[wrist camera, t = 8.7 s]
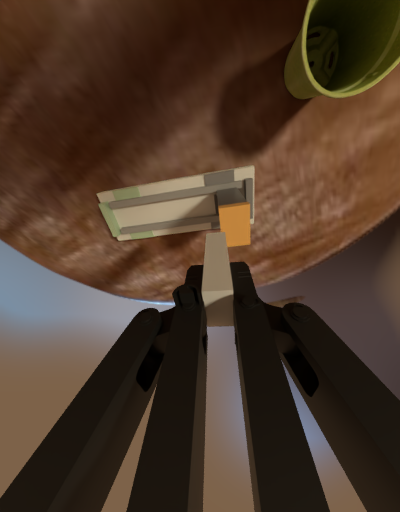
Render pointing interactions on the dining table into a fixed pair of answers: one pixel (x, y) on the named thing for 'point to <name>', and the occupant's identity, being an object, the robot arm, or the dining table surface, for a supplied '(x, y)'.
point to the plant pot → (343, 47)
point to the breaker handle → (233, 216)
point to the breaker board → (172, 204)
